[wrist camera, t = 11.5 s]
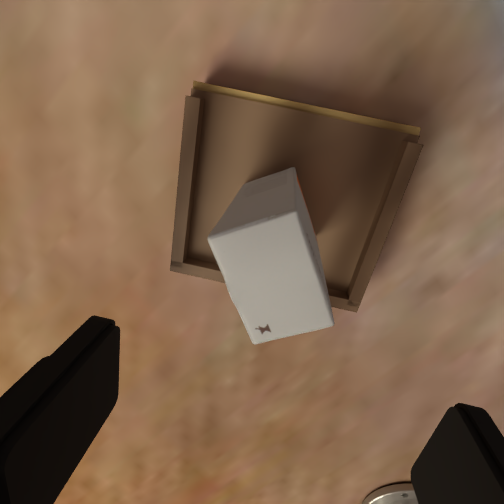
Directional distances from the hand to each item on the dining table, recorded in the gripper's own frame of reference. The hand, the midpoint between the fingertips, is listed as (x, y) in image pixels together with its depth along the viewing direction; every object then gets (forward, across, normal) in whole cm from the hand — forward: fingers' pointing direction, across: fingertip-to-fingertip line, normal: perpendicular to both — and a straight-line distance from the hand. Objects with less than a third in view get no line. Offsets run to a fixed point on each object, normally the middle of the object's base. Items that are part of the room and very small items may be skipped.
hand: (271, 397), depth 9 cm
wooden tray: (+21, +1, -1) cm, 21 cm away
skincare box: (+18, +1, -1) cm, 18 cm away
